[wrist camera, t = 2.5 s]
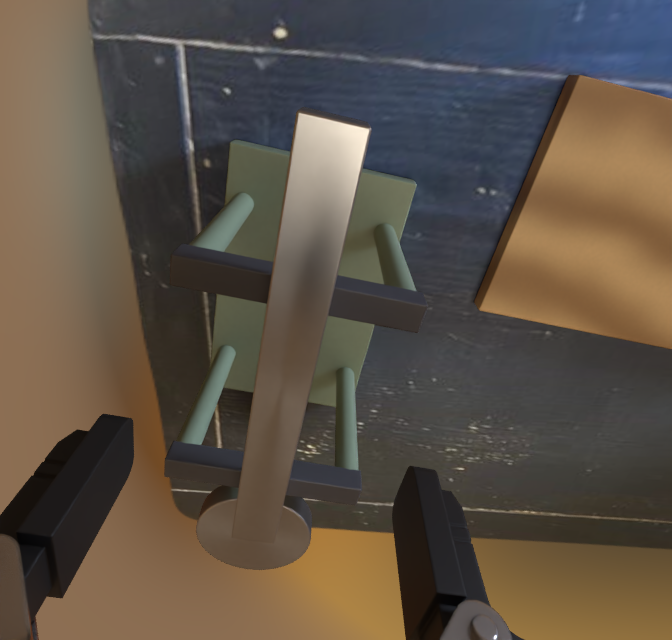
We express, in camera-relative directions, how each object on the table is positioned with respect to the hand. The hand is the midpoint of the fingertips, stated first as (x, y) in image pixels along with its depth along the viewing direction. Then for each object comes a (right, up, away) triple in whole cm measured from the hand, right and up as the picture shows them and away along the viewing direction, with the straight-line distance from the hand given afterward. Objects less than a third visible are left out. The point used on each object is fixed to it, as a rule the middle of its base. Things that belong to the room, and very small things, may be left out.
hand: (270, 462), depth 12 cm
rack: (0, +6, +15) cm, 16 cm away
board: (+23, +9, +13) cm, 28 cm away
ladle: (-1, +1, +7) cm, 7 cm away
